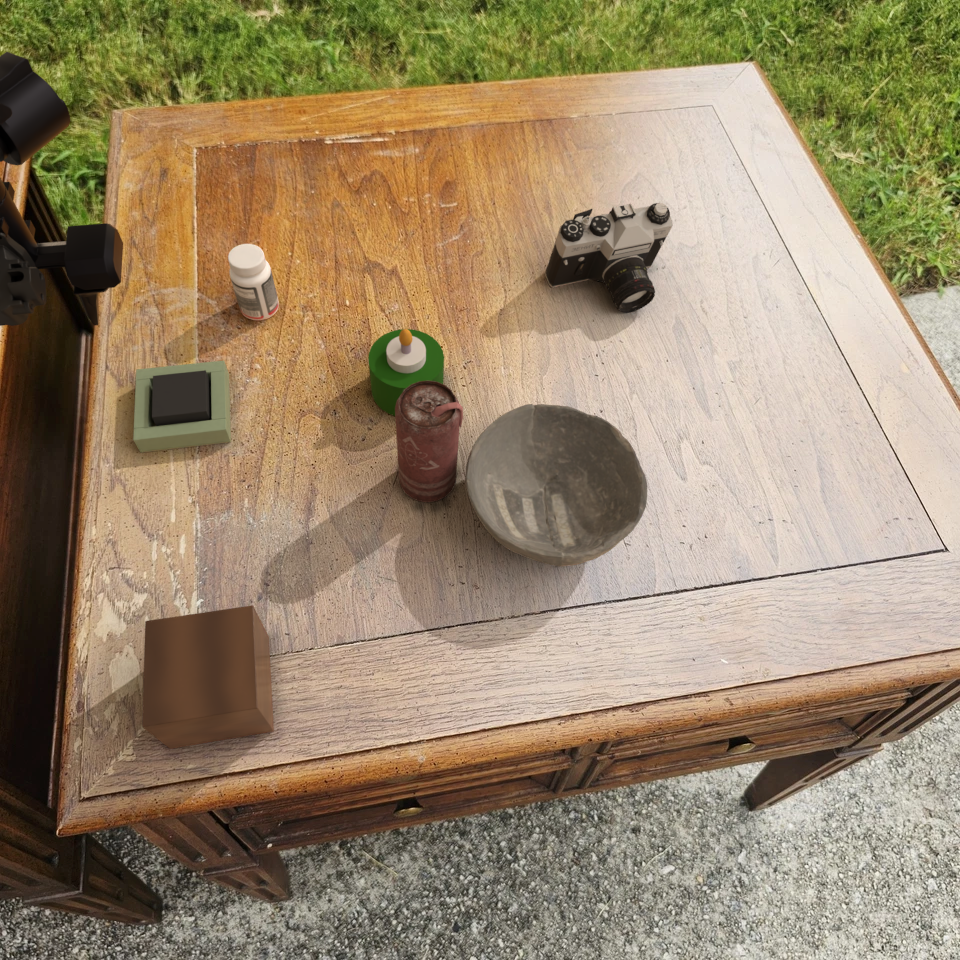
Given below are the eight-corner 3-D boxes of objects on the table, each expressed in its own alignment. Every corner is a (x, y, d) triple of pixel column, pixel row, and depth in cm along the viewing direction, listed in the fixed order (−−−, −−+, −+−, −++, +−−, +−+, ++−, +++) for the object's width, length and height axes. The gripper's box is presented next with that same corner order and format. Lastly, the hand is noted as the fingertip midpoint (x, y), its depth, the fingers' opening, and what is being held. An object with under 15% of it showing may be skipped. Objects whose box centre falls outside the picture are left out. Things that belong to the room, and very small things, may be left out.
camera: (567, 331, 99) (586, 285, 89) (539, 260, 102) (554, 208, 93) (671, 308, 102) (701, 261, 92) (641, 239, 105) (666, 187, 96)
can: (462, 500, 84) (468, 426, 72) (402, 507, 83) (398, 433, 71) (453, 453, 87) (458, 373, 75) (396, 459, 86) (391, 380, 74)
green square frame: (231, 442, 86) (226, 429, 84) (140, 453, 85) (132, 440, 82) (229, 374, 91) (224, 360, 89) (142, 383, 89) (135, 369, 87)
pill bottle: (269, 287, 98) (257, 235, 91) (285, 312, 96) (274, 261, 89) (233, 301, 96) (217, 249, 89) (249, 327, 94) (234, 275, 87)
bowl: (447, 454, 87) (449, 412, 80) (599, 430, 90) (613, 387, 83) (484, 605, 78) (490, 571, 71) (651, 572, 81) (672, 537, 74)
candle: (433, 355, 94) (434, 295, 85) (451, 410, 90) (453, 353, 81) (364, 367, 92) (358, 307, 84) (379, 424, 88) (374, 367, 80)
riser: (169, 749, 69) (141, 727, 63) (171, 651, 74) (145, 620, 67) (274, 731, 71) (257, 708, 64) (269, 636, 75) (253, 604, 68)
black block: (161, 436, 86) (151, 417, 83) (162, 395, 89) (152, 375, 86) (214, 429, 87) (206, 411, 84) (213, 389, 89) (205, 370, 86)
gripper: (-181, 278, 59) (-69, 403, 72) (82, 257, 61) (144, 381, 75) (-150, 180, 64) (-50, 312, 78) (91, 163, 67) (147, 295, 80)
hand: (47, 326), depth 77 cm, fingers open, 9 cm apart
